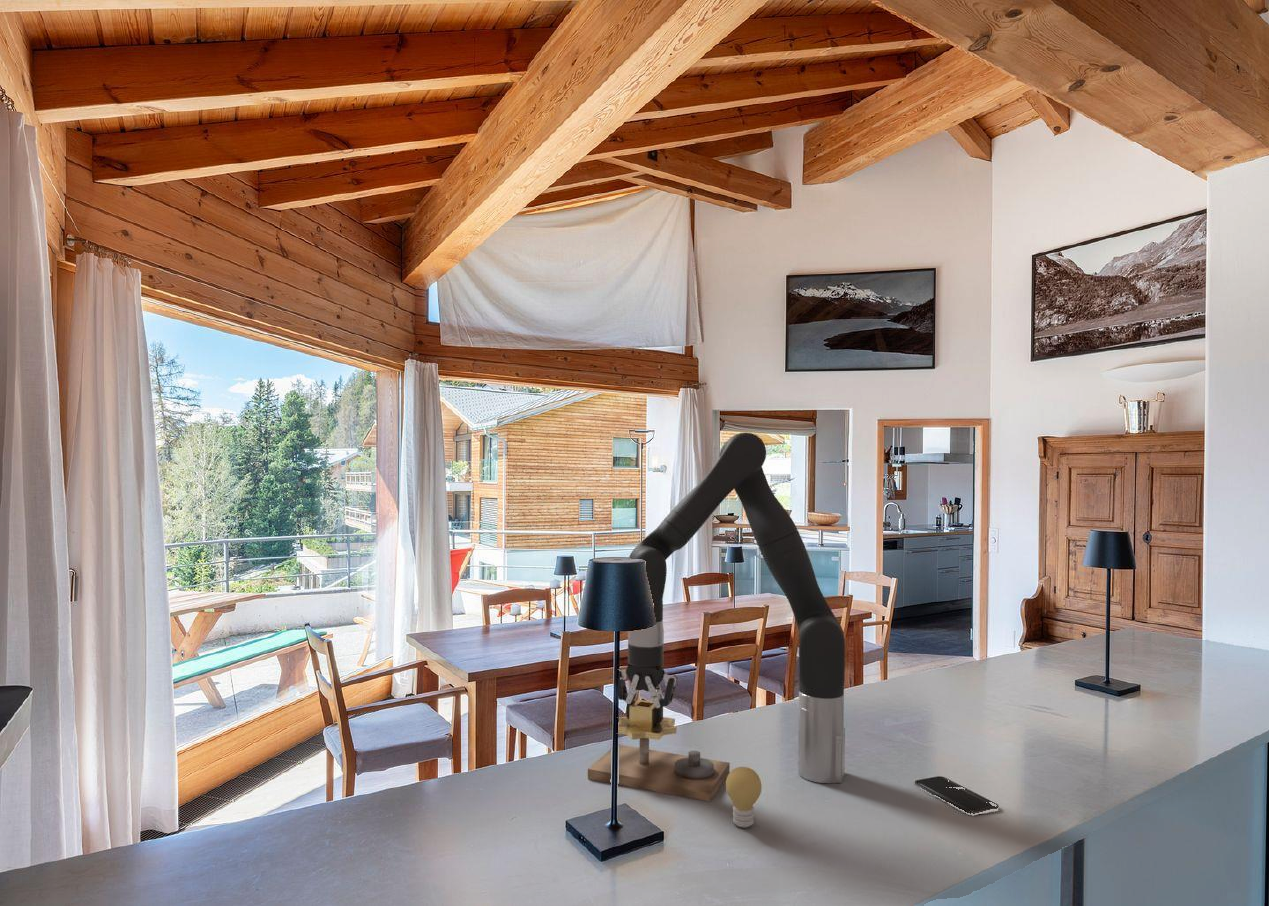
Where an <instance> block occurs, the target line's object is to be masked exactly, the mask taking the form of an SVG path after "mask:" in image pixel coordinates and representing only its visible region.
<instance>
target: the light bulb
mask: <svg viewBox="0 0 1269 906" xmlns="http://www.w3.org/2000/svg"><path fill="white" fill-rule="evenodd" d="M725 779H726V780H725V789H726V794H727V795H728V797H729V799H730V800H731V801H732V803H733V806H732V823H733V824H734V825H735V826H737V827H738V828H745V829H746V828H749V827H752V825H753V824H754V823H755V821H754V820H755V818H754V817H755V813H754V812H755V808H754V805H755V803H756V802H757V801H758V799H759V798H760V795H761V793H762V781H761V778H760V776H759V774H758V773H757V772H756V771H755V770H754V769H753V768H750V767H747V766H737V767H735V768H733V769H732V770H730V771H729V774H728V775H727V777H726V778H725Z"/></svg>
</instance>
